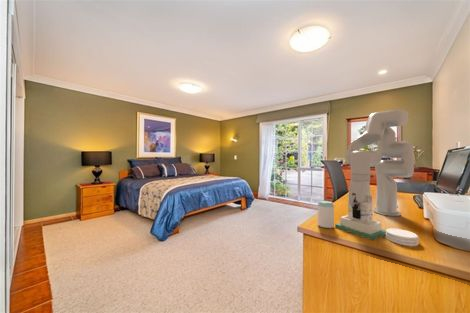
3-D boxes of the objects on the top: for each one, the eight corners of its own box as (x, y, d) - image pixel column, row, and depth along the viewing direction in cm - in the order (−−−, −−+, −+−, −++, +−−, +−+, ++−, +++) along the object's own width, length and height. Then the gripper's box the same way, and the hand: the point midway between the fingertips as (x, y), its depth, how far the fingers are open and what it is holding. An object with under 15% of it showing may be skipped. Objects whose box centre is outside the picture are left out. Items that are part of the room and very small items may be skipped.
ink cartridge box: (347, 224, 90) (347, 193, 90) (352, 222, 93) (352, 192, 93) (368, 230, 83) (368, 196, 83) (372, 228, 86) (373, 195, 86)
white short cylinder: (425, 247, 72) (425, 238, 72) (396, 246, 73) (396, 236, 73) (405, 236, 82) (406, 228, 82) (380, 235, 83) (380, 227, 83)
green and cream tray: (349, 222, 98) (349, 213, 98) (386, 234, 84) (386, 222, 84) (335, 227, 92) (335, 216, 92) (372, 240, 78) (372, 227, 78)
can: (334, 225, 94) (334, 201, 94) (333, 230, 88) (333, 204, 88) (319, 222, 98) (319, 199, 98) (316, 227, 92) (316, 202, 92)
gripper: (361, 175, 95) (361, 212, 96) (341, 178, 87) (340, 218, 87) (378, 177, 89) (378, 216, 89) (358, 180, 80) (358, 223, 81)
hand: (360, 216), depth 88 cm, fingers closed on ink cartridge box, 5 cm apart
